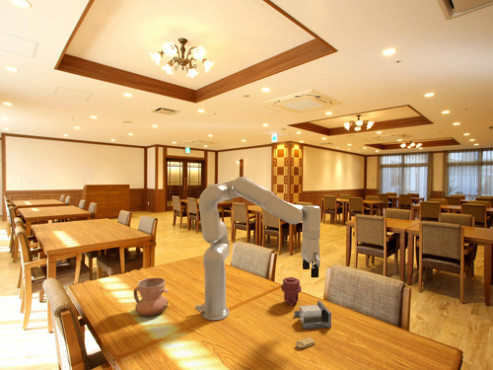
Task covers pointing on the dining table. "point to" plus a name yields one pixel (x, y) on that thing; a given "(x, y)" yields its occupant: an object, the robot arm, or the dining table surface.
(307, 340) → the brass key tag
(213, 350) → the dining table surface
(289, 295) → the mechanical component
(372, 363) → the dining table surface
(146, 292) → the ceramic jug
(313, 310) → the aluminium block
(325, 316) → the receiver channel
